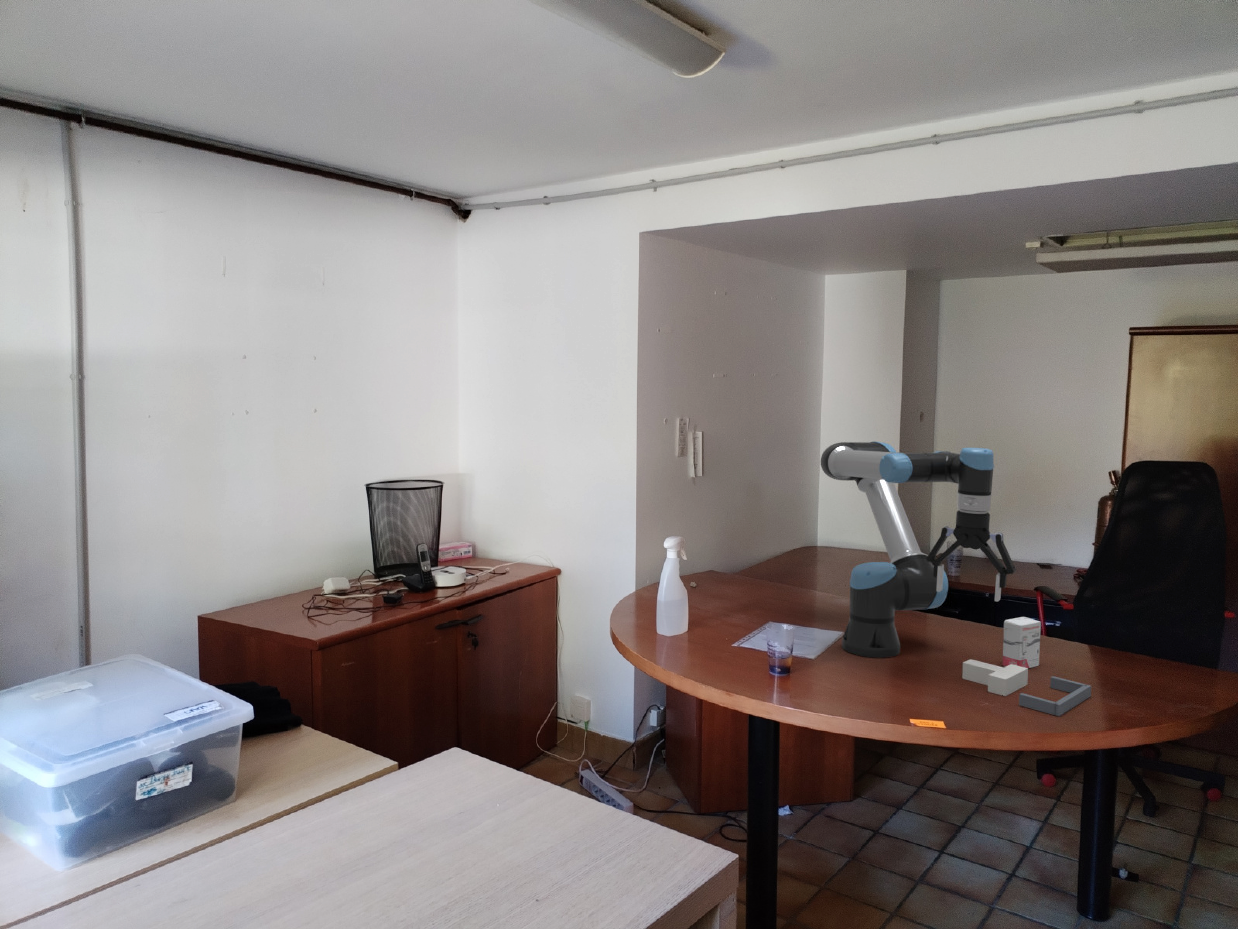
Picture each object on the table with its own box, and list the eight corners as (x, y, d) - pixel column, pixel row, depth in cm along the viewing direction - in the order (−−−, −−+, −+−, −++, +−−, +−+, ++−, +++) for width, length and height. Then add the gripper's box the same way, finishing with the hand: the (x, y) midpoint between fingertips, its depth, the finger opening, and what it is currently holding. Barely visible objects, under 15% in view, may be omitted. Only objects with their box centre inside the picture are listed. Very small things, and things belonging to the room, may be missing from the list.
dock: (1018, 705, 175) (1019, 694, 175) (1052, 686, 187) (1052, 676, 187) (1058, 716, 169) (1059, 705, 169) (1090, 696, 181) (1091, 685, 181)
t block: (954, 682, 190) (955, 666, 189) (977, 671, 198) (978, 656, 197) (1005, 696, 181) (1005, 679, 180) (1027, 684, 188) (1028, 668, 188)
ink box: (1018, 671, 198) (1020, 625, 197) (1000, 665, 202) (1002, 620, 201) (1039, 666, 202) (1042, 620, 201) (1022, 660, 206) (1024, 616, 205)
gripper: (916, 507, 198) (912, 589, 200) (1026, 519, 183) (1019, 608, 185) (925, 503, 204) (921, 583, 206) (1032, 514, 189) (1026, 601, 191)
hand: (967, 595), depth 196 cm, fingers open, 13 cm apart
